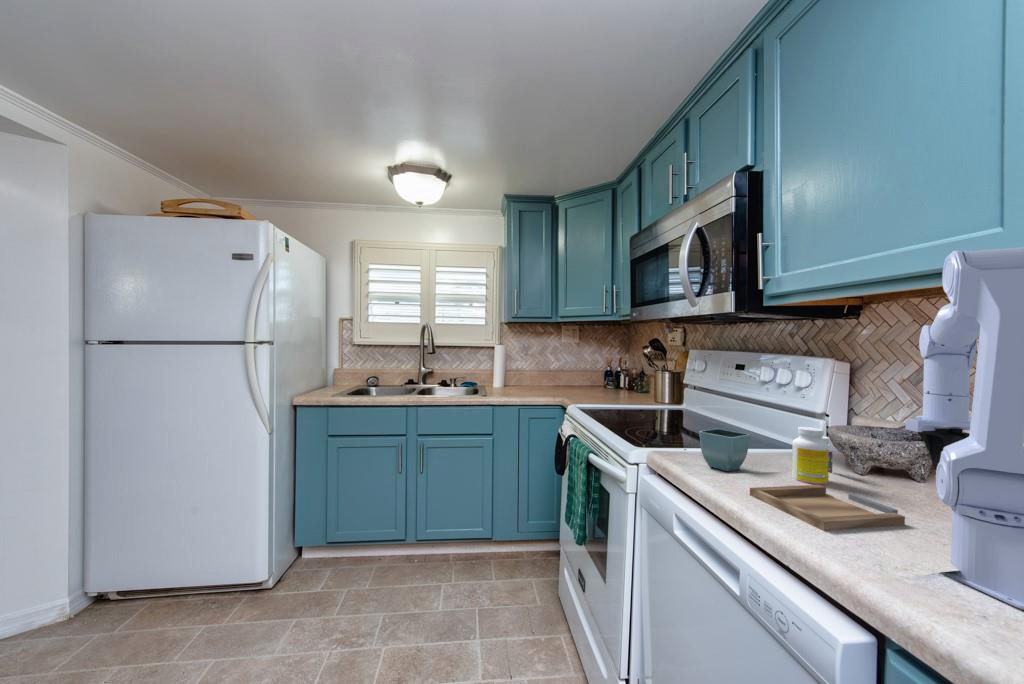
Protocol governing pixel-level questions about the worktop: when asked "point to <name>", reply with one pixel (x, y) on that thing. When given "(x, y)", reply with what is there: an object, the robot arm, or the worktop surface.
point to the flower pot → (724, 448)
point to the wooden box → (822, 508)
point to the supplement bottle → (810, 457)
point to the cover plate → (872, 504)
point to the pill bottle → (827, 440)
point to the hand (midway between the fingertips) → (943, 471)
